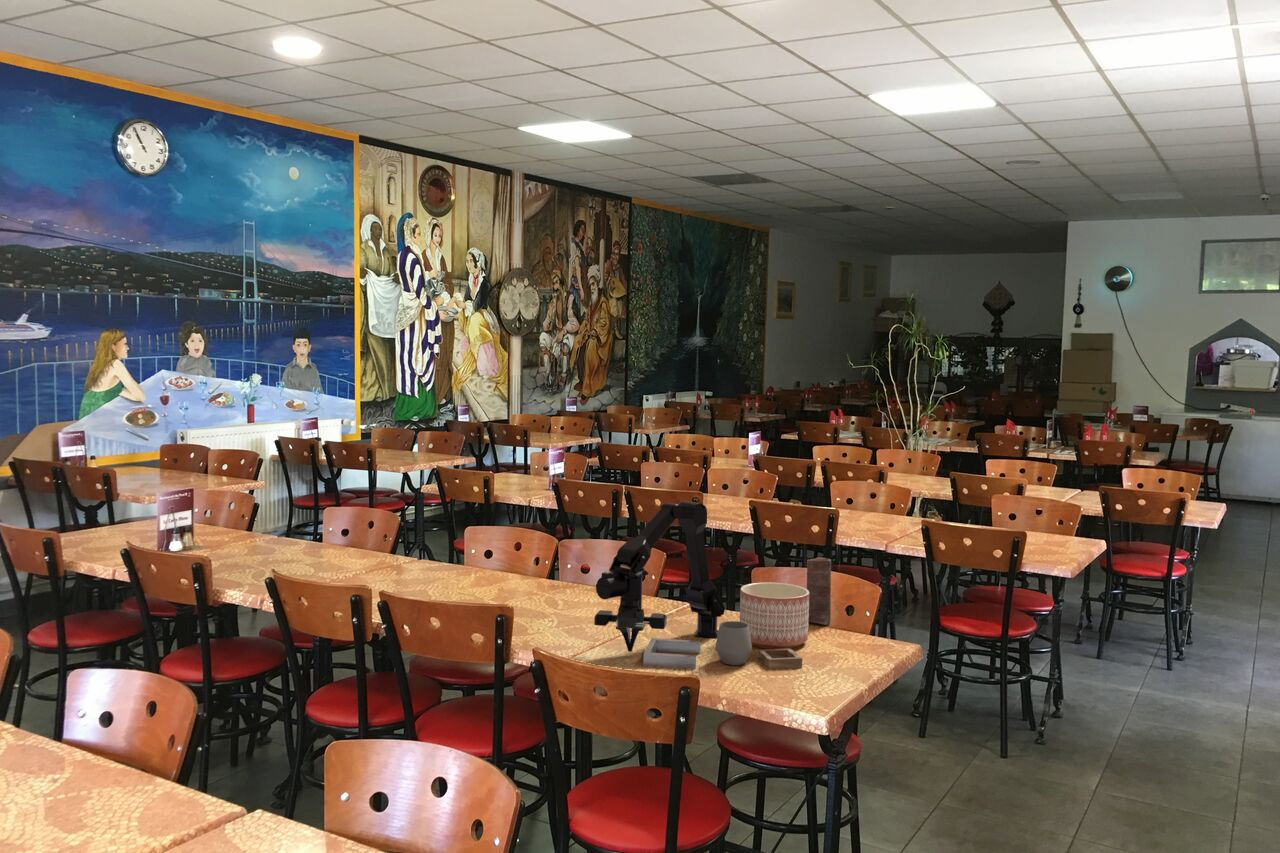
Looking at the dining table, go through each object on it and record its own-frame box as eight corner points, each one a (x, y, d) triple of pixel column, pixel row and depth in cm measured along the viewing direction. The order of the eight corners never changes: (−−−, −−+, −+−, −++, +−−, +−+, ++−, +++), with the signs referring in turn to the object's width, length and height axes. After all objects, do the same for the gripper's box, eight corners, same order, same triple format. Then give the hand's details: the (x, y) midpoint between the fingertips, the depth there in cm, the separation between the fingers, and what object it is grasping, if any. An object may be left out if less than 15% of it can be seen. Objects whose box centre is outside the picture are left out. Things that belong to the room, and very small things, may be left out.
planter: (732, 646, 274) (733, 594, 273) (747, 629, 292) (748, 580, 291) (801, 654, 268) (803, 600, 267) (812, 636, 286) (814, 586, 285)
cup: (708, 659, 262) (709, 622, 262) (739, 655, 266) (740, 618, 266) (726, 669, 254) (727, 631, 253) (758, 665, 258) (759, 627, 257)
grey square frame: (643, 665, 256) (643, 653, 256) (651, 648, 271) (651, 638, 271) (695, 668, 254) (695, 657, 254) (700, 652, 269) (700, 641, 269)
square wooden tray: (757, 658, 264) (758, 649, 264) (790, 657, 266) (790, 648, 265) (768, 669, 255) (769, 659, 255) (802, 667, 257) (802, 658, 257)
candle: (811, 627, 297) (813, 560, 295) (801, 620, 304) (803, 556, 302) (834, 625, 299) (836, 560, 297) (823, 619, 306) (825, 555, 304)
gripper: (590, 598, 257) (589, 658, 258) (662, 602, 254) (661, 662, 255) (598, 589, 267) (597, 645, 269) (667, 592, 265) (666, 650, 266)
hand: (630, 651), depth 264 cm, fingers closed
